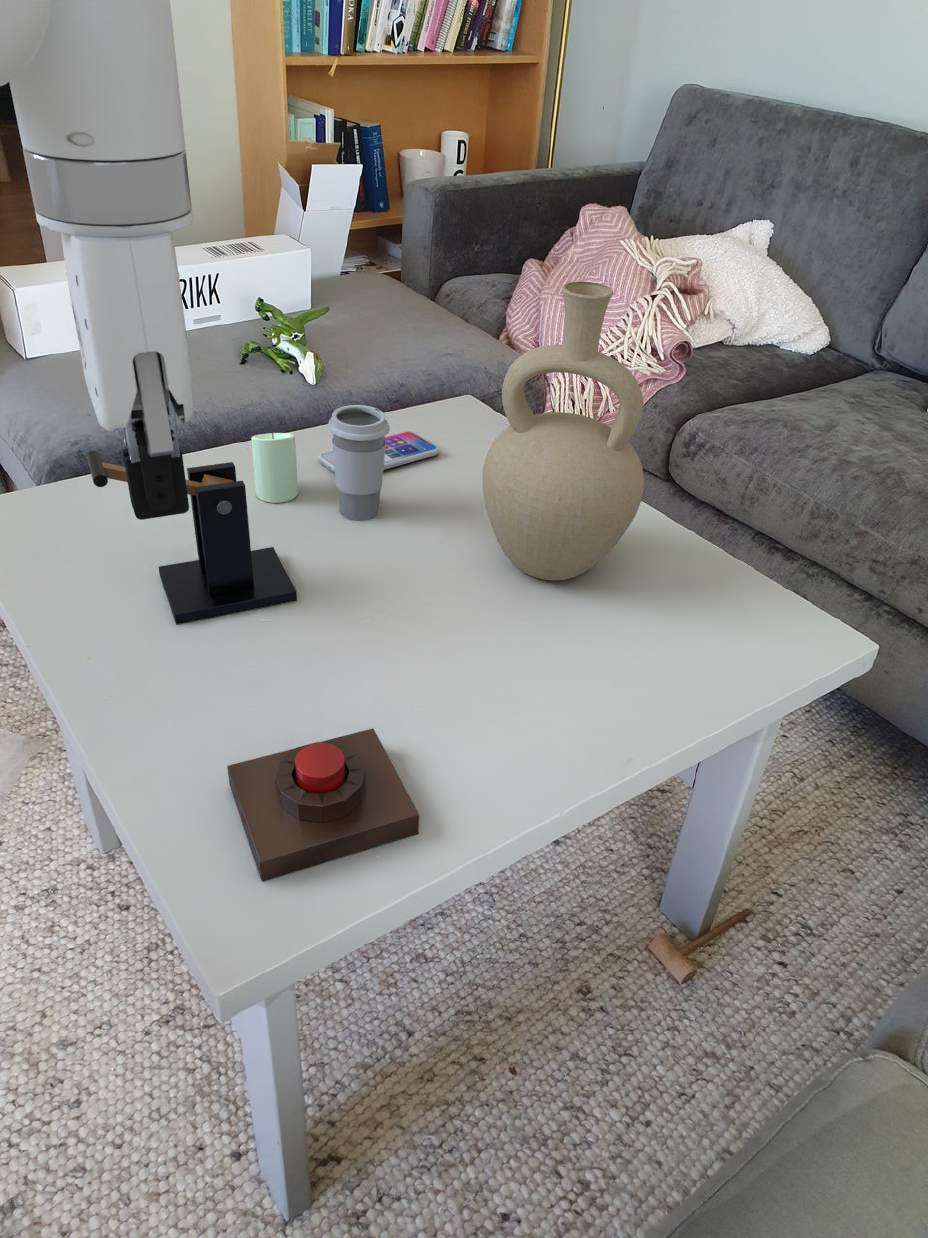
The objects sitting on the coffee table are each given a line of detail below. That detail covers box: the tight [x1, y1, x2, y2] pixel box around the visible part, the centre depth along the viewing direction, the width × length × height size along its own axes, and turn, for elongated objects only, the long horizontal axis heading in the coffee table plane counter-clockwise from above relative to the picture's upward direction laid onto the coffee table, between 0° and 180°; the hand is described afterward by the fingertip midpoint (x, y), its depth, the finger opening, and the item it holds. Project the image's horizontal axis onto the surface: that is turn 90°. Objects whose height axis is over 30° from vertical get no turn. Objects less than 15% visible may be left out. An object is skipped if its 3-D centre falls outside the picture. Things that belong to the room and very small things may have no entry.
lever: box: [86, 450, 233, 496], centre depth 84 cm, size 13×5×2 cm, turn 115°
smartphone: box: [318, 431, 440, 474], centre depth 119 cm, size 7×1×15 cm
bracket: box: [158, 461, 298, 625], centre depth 90 cm, size 12×9×13 cm
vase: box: [482, 280, 645, 582], centre depth 92 cm, size 17×17×30 cm
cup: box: [327, 404, 390, 521], centre depth 105 cm, size 7×7×12 cm
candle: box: [251, 432, 299, 504], centre depth 108 cm, size 5×5×8 cm
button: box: [295, 742, 345, 794], centre depth 68 cm, size 4×4×2 cm
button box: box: [226, 728, 420, 882], centre depth 69 cm, size 12×10×4 cm
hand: (160, 509), depth 56 cm, fingers closed
